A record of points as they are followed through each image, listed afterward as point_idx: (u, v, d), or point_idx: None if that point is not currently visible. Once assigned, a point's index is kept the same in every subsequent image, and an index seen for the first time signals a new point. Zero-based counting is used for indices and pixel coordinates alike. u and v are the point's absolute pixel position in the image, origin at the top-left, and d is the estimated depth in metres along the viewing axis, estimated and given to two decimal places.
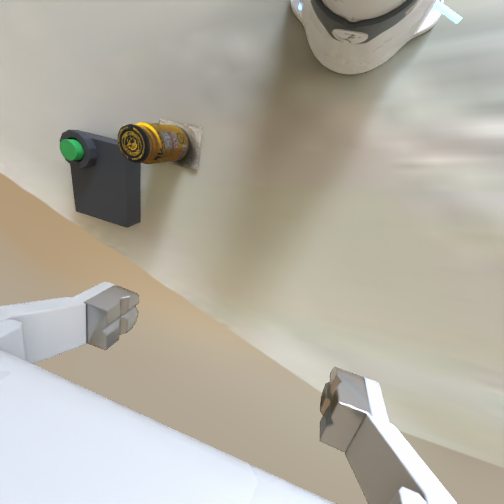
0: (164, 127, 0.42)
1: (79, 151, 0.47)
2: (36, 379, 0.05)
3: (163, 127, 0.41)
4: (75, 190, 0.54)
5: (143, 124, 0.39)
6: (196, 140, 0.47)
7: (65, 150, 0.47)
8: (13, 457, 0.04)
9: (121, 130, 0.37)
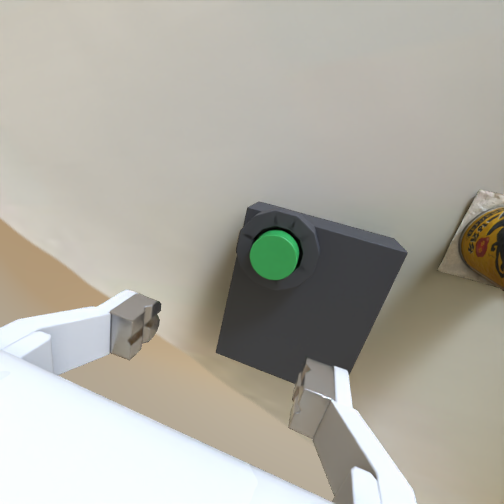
0: None
1: None
2: (36, 379, 0.05)
3: None
4: (228, 318, 0.26)
5: None
6: None
7: (265, 259, 0.19)
8: (13, 457, 0.04)
9: None
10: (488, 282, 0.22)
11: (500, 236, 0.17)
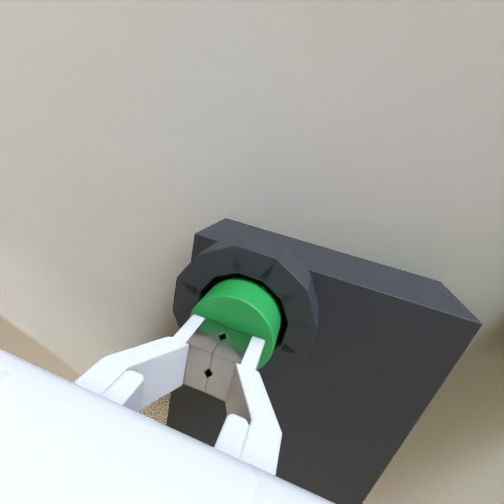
0: None
1: (276, 339, 0.10)
2: (36, 379, 0.05)
3: None
4: (178, 398, 0.17)
5: None
6: None
7: None
8: (13, 457, 0.04)
9: None
10: None
11: None
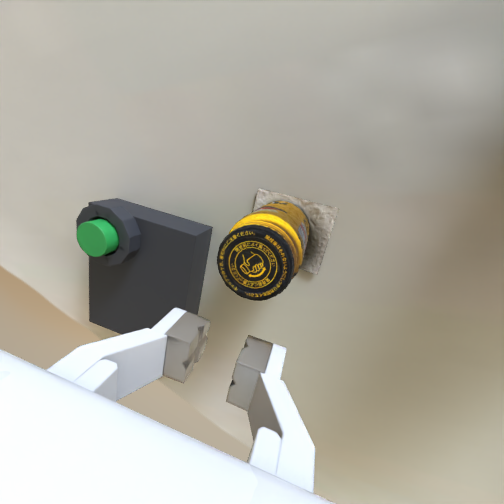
0: (293, 216, 0.21)
1: (112, 242, 0.26)
2: (36, 379, 0.05)
3: (293, 216, 0.21)
4: (92, 292, 0.32)
5: (271, 219, 0.18)
6: (323, 226, 0.26)
7: (86, 240, 0.26)
8: (13, 457, 0.04)
9: (233, 237, 0.17)
10: None
11: None
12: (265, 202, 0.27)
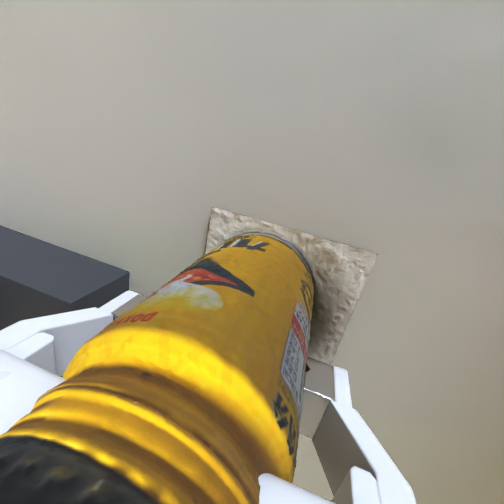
0: (273, 298, 0.08)
1: None
2: (36, 379, 0.05)
3: (272, 303, 0.08)
4: None
5: (175, 361, 0.05)
6: (343, 287, 0.13)
7: None
8: None
9: None
10: None
11: None
12: (227, 234, 0.14)
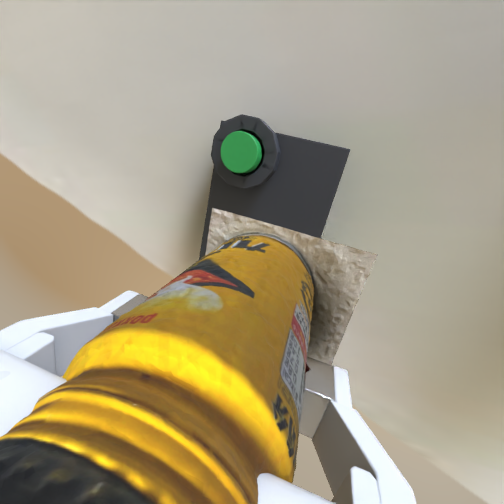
0: (273, 299, 0.08)
1: (259, 156, 0.24)
2: (36, 379, 0.05)
3: (272, 304, 0.08)
4: (208, 227, 0.30)
5: (174, 363, 0.05)
6: (343, 288, 0.13)
7: (232, 154, 0.24)
8: None
9: None
10: None
11: None
12: (227, 235, 0.14)
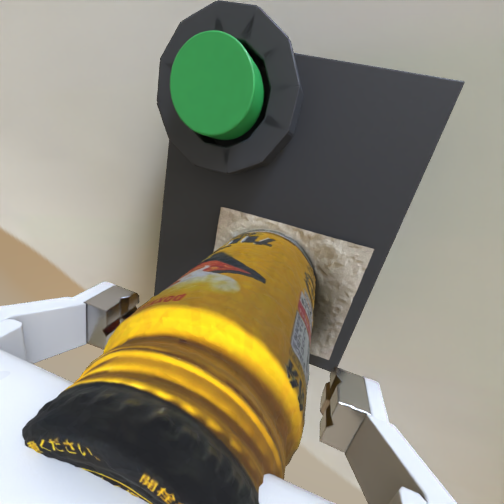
0: (282, 285, 0.09)
1: (258, 96, 0.10)
2: (36, 379, 0.05)
3: (281, 289, 0.09)
4: (166, 247, 0.17)
5: (206, 330, 0.06)
6: (342, 280, 0.14)
7: (196, 90, 0.10)
8: (13, 457, 0.04)
9: (31, 445, 0.04)
10: None
11: None
12: (235, 232, 0.15)
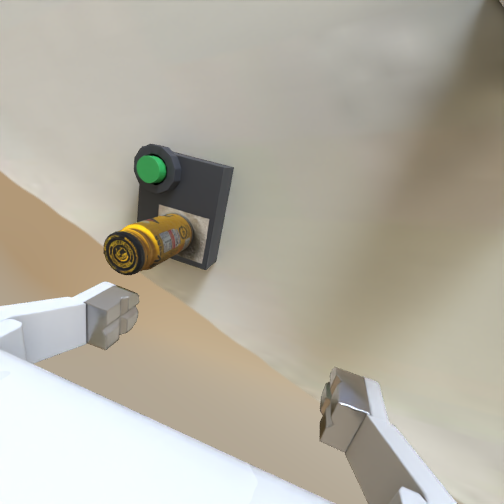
0: (164, 225, 0.34)
1: (162, 171, 0.35)
2: (36, 379, 0.05)
3: (163, 225, 0.34)
4: (140, 220, 0.42)
5: (138, 227, 0.31)
6: (201, 231, 0.39)
7: (144, 170, 0.35)
8: (13, 457, 0.04)
9: (109, 238, 0.29)
10: (177, 254, 0.41)
11: None
12: (164, 214, 0.40)
